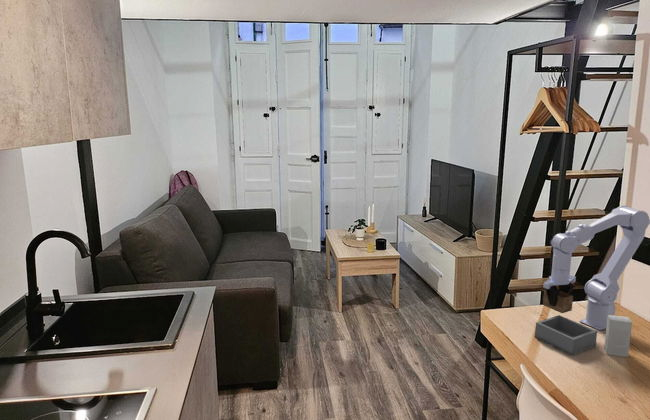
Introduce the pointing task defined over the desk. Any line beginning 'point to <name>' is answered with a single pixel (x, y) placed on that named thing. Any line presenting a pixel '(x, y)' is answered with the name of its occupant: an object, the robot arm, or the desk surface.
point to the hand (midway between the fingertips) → (557, 303)
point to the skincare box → (618, 335)
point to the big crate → (565, 334)
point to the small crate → (560, 302)
